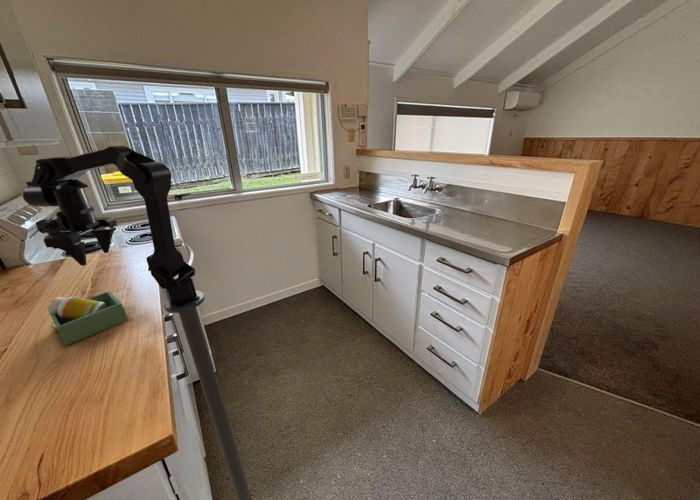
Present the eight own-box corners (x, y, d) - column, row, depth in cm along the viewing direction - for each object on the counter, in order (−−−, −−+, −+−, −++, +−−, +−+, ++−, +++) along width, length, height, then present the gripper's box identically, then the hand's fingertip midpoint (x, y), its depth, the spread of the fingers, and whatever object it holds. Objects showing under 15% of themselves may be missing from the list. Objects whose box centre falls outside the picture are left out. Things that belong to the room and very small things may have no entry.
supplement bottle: (100, 301, 72) (53, 293, 69) (90, 323, 70) (41, 315, 67) (108, 303, 77) (64, 294, 74) (99, 323, 75) (54, 315, 72)
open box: (115, 306, 82) (109, 290, 80) (128, 319, 75) (121, 303, 73) (57, 328, 73) (48, 311, 71) (65, 345, 66) (56, 328, 64)
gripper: (69, 200, 84) (89, 249, 90) (5, 216, 67) (36, 275, 73) (109, 198, 85) (126, 246, 91) (57, 213, 68) (82, 271, 74)
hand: (95, 258), depth 82 cm, fingers open, 9 cm apart
